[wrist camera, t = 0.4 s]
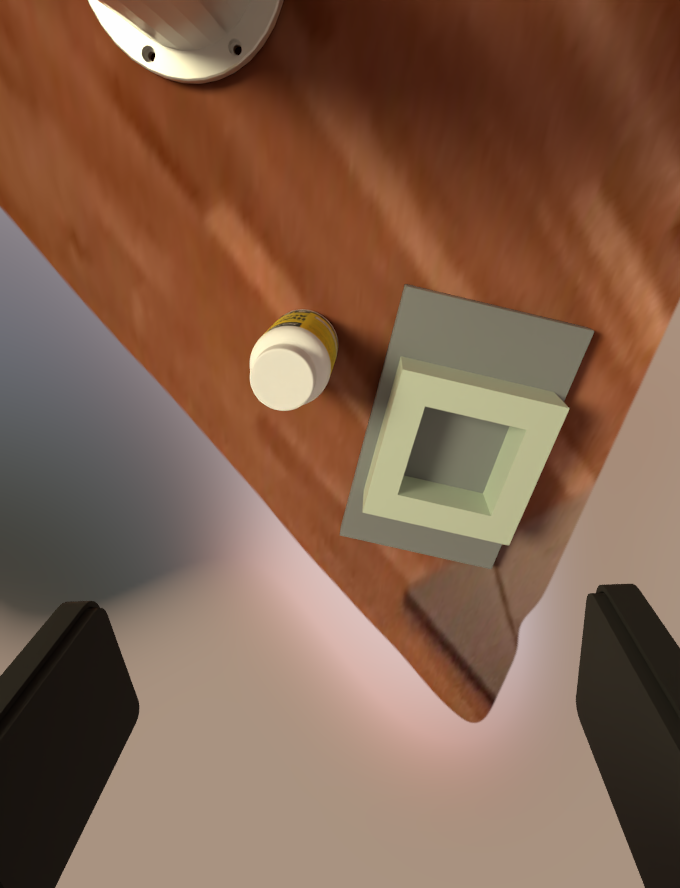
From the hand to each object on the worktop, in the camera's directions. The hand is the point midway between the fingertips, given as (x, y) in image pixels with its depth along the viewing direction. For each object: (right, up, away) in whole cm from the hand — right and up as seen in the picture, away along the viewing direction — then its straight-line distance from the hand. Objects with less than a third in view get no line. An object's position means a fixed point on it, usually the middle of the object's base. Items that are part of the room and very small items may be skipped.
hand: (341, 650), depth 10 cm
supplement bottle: (-3, +12, +30) cm, 33 cm away
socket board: (+9, +5, +32) cm, 34 cm away
